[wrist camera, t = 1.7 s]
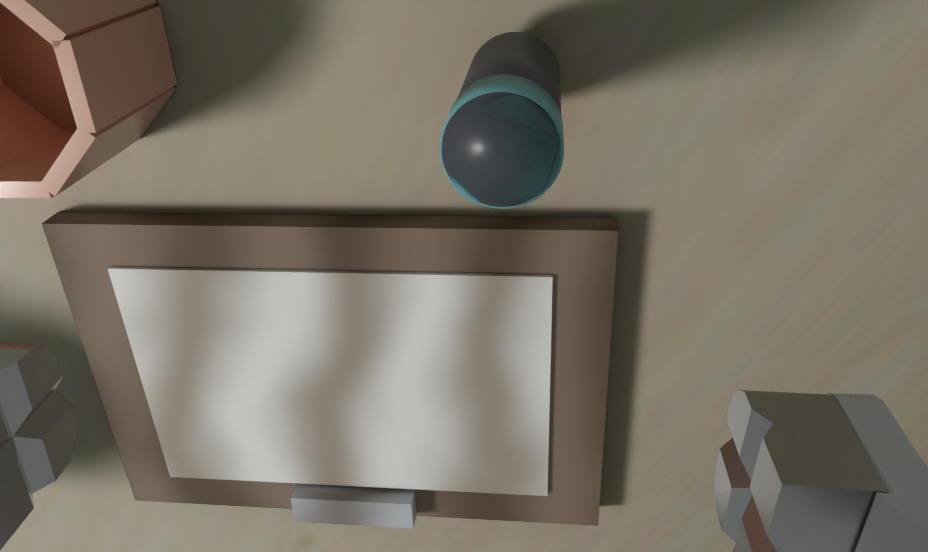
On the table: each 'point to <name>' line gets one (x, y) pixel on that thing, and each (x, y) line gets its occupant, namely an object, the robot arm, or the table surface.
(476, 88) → the marker
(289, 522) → the table surface
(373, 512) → the brown picture frame
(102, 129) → the pen pot
